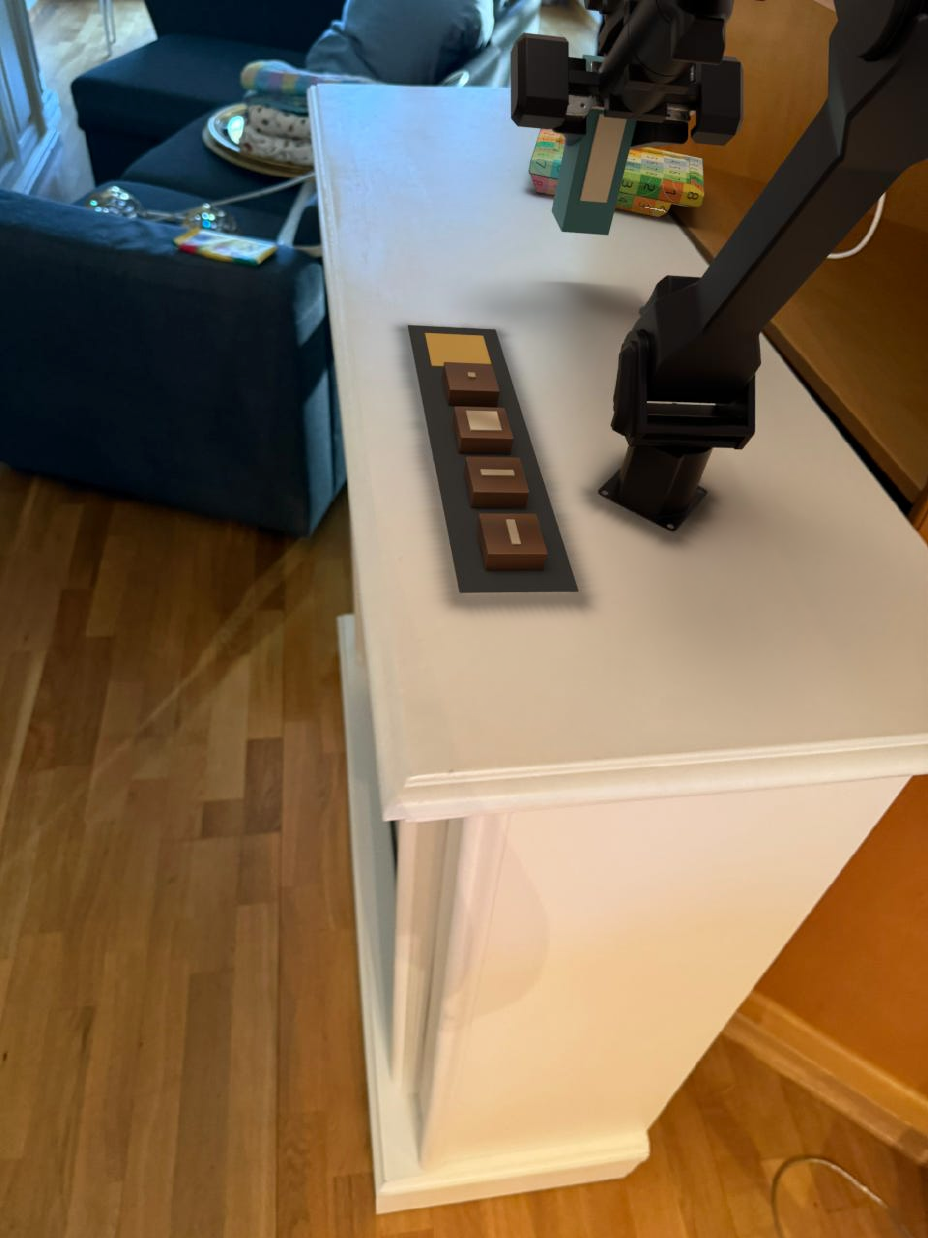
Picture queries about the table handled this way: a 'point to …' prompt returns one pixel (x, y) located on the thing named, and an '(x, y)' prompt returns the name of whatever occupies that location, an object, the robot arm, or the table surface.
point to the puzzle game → (630, 176)
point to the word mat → (459, 515)
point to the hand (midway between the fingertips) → (592, 142)
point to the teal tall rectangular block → (593, 172)
